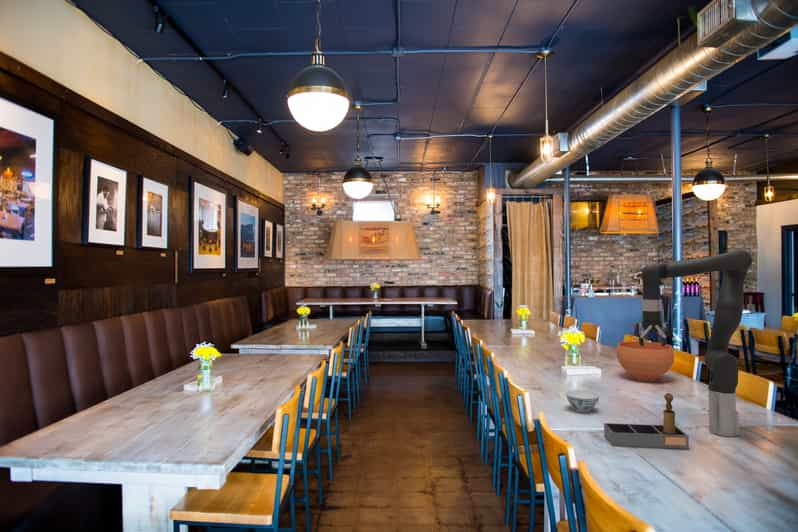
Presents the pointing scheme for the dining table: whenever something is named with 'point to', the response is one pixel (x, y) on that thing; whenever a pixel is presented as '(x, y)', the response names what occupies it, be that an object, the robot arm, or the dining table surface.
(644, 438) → the rack
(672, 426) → the brown turned rounded post
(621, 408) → the dining table surface
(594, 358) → the dining table surface
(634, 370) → the bowl
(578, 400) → the chinaware
